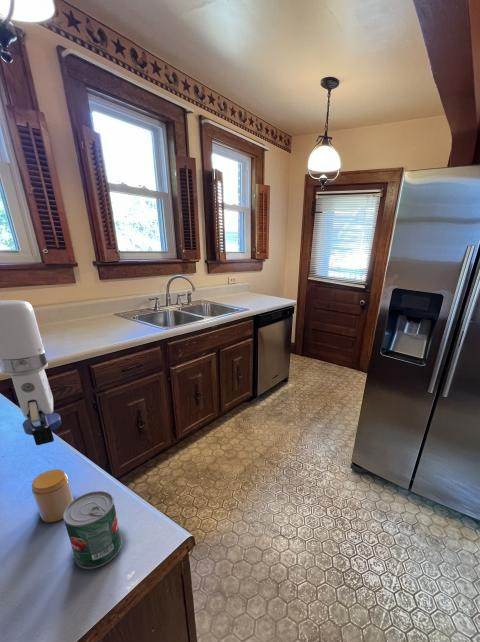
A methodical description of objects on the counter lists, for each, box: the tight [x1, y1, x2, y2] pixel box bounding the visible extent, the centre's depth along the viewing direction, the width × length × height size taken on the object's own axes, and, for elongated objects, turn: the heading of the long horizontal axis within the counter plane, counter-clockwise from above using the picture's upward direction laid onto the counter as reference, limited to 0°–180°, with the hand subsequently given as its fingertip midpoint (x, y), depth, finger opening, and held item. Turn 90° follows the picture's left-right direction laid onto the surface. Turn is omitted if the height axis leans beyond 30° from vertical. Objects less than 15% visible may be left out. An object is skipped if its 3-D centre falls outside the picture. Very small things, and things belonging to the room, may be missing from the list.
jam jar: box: [31, 468, 75, 523], centre depth 66 cm, size 6×6×9 cm
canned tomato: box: [63, 490, 123, 570], centre depth 58 cm, size 8×8×11 cm
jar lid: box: [22, 412, 62, 436], centre depth 70 cm, size 7×7×2 cm
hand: (45, 433), depth 71 cm, fingers closed on jar lid, 6 cm apart
